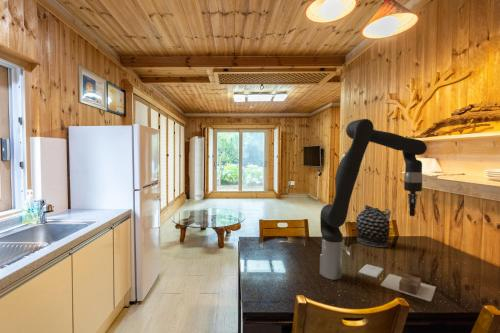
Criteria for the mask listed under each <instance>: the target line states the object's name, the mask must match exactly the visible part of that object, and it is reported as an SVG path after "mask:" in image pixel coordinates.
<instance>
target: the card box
mask: <svg viewBox="0 0 500 333" xmlns="http://www.w3.org/2000/svg"><path fill="white" fill-rule="evenodd" d="M401 277H402V279H401V280H400V282H399V290H401V291H404V292H407V293H410V294H413V295H417V292H418V290H419V288H420V286H421V283H422V282H421V281H422V278H421V277H417V276H413V275H410V274H406V273H404V274H403V276H401Z"/></svg>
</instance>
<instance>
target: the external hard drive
mask: <svg viewBox="0 0 500 333" xmlns="http://www.w3.org/2000/svg"><path fill="white" fill-rule="evenodd" d="M383 271H384V268H382V267H379V266H375V265H371V264H368V263H367V264H365V265H364V266H363V267H361V269H360V270H359V271H358V272H357V275H363V276H367V277H370V278H374V279H378V278H379V276H380V275H381V273H382V272H383Z"/></svg>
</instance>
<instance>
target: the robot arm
mask: <svg viewBox="0 0 500 333" xmlns="http://www.w3.org/2000/svg"><path fill="white" fill-rule="evenodd" d="M345 133H346V135H347V137H348V138H350V139H351V140H352V142H351V145H350V147H349V148H348V150H347V152H346V153H345V154H344V156H343V157H342V158H341V160H340V162H339V163H338V167H337V168H336V169H337V170H336V171H335V172H336V173H335V178H334V183H335V184H334V187H335V192H334V193H335V195H334V199H333V202H332V203H330V204H325V205H324V206H323V207H322V208H321V210H320V215H319V216H320V217H319V218H320V223H319V225H320V233H321V253H320V254H319V275H320V276H322V277H324V278H326V279H327V280H328V279H329V280H333V281H336V280H340V279H342V277H343V243H344V242H343V238H344V237H343V233H342V232H341V230H340V227H342V226H343V225H344V224H345V222H346V220H347V217H348V212H349V206H350V201H351V198H352V194H353V192H354V188H355V185H356V182H357V179H358V176H359V172H360V168H361V165H362V163H363V158H364V156H365V153H366V150H367V148H368V145H369V143H372V144H373V143H374V144H376V145H380V146H383V147H386V148H389V149H392V150H396V151H402V157H403V160H404V164H405V167H404V175H403V177H404V178H403V179H404V180H403V181H404V182H403V190H404V191H406V192H409V193H408V194H407V198H408V203H407V204H408V208H409V216H410V217H415V213H416V205H417V201H418V194H416V192H422V191H423V162H422V161H421V160H420V159H417V157H416V156H422V155H424V154H425V153H426V152H427V149H428V147H427V146H428V145H427V144H426V143H425V141H423V140H421V139H417V138H416V139H415V138H412V137H406V136H403V135H400V134H397V133H393V132H389V131H384V130H383V131H381V130H376V129H375V128H374V124H373V121H372V120H370V119H369V118H361V119H357V120H352V121H351V122H349V123H348V124H347V126H346V128H345Z"/></svg>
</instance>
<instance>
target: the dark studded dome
mask: <svg viewBox="0 0 500 333" xmlns="http://www.w3.org/2000/svg"><path fill="white" fill-rule="evenodd" d="M391 213H392V211H391V210H390V209H388V208H385V209H384V210H380V209H379V208H378V207H373V206H369V205H367V204H365V206H364V209H363V210H361V211H360V213H358V215H357V216H356V218H355V220H356V222H355V223H354V225H355V230H356V233H357V237H356V241H357V242H358V243H360V244H361V245H366V246H372V247H377V248H378V247H379V248H386V247H388V245H389V242H388V240H389V237H390V230H391V229H390V228H391V227H390V226H391V225H390V219H391Z"/></svg>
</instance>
